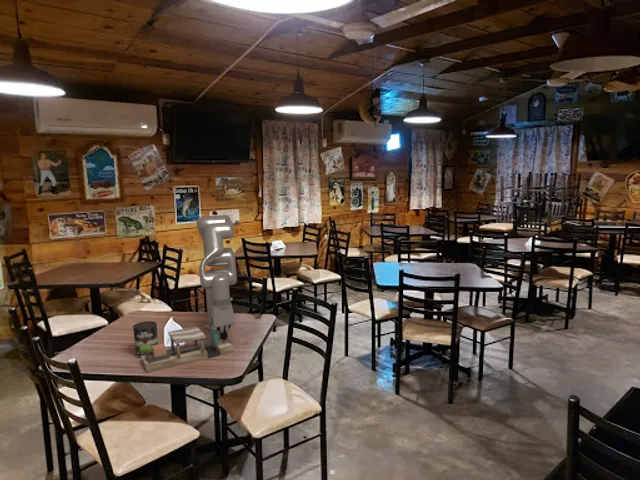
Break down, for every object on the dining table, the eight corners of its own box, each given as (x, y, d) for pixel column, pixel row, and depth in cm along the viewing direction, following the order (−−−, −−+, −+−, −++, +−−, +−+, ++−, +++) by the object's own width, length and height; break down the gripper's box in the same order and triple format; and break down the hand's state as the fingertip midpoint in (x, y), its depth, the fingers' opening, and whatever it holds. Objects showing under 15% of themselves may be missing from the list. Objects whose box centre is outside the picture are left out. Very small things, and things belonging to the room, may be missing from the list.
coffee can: (158, 356, 207) (155, 327, 205) (134, 359, 204) (131, 329, 202) (160, 348, 217) (157, 320, 214) (137, 351, 214) (134, 322, 212)
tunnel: (141, 361, 202) (139, 337, 200) (223, 343, 221) (222, 321, 219) (147, 373, 190) (144, 348, 188) (233, 352, 209) (232, 329, 207)
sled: (145, 355, 199) (144, 343, 199) (214, 340, 215) (213, 328, 214) (148, 362, 192) (147, 349, 191) (220, 346, 208) (219, 334, 207)
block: (152, 356, 199) (151, 345, 199) (164, 353, 202) (163, 343, 201) (154, 360, 195) (153, 349, 194) (166, 357, 198) (165, 346, 197)
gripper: (234, 297, 217) (236, 333, 220) (203, 302, 210) (206, 340, 213) (239, 301, 211) (242, 338, 213) (208, 306, 203) (210, 345, 206)
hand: (224, 339), depth 213 cm, fingers closed
